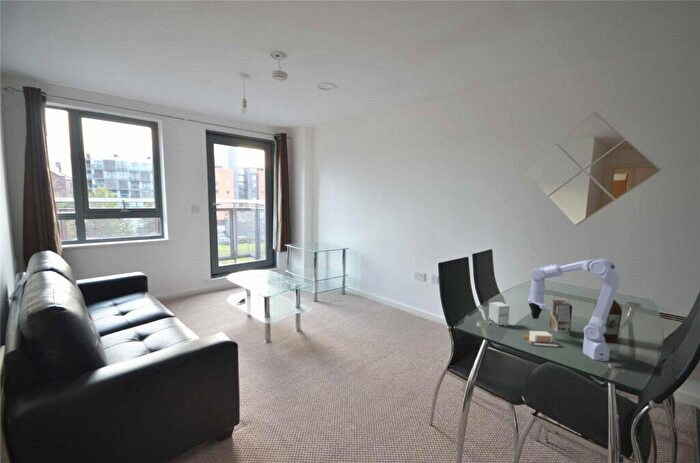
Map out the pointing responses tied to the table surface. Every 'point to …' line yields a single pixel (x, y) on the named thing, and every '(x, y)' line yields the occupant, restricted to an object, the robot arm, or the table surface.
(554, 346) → the price rail
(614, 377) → the table surface
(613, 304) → the olive oil
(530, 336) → the cream box
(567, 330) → the coffee box
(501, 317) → the supplement box
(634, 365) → the table surface
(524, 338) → the tan wooden board
